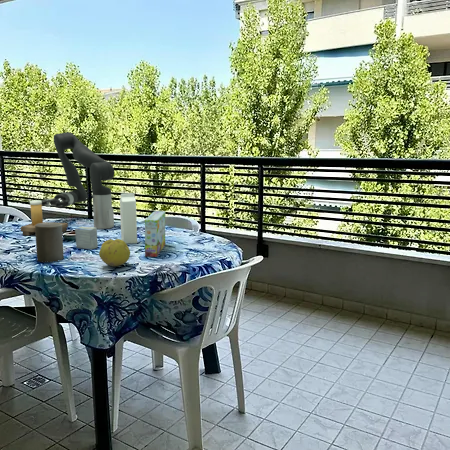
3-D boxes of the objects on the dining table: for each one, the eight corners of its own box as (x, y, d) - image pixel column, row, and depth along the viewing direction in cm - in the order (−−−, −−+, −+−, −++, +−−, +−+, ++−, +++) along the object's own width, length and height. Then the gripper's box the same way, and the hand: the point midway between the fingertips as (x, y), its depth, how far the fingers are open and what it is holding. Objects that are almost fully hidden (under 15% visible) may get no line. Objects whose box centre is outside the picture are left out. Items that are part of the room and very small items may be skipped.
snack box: (158, 257, 179) (157, 219, 176) (144, 257, 179) (143, 219, 176) (166, 244, 200) (165, 210, 197) (153, 244, 200) (152, 210, 197)
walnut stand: (68, 231, 225) (67, 223, 224) (54, 236, 212) (54, 228, 211) (36, 229, 227) (35, 221, 226) (21, 235, 214) (20, 227, 214)
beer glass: (45, 223, 222) (43, 200, 220) (39, 225, 217) (37, 202, 215) (35, 223, 223) (33, 200, 220) (29, 225, 218) (27, 201, 215)
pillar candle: (37, 263, 169) (34, 224, 166) (36, 257, 178) (34, 219, 175) (64, 261, 173) (63, 222, 170) (62, 254, 182) (61, 218, 179)
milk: (137, 242, 202) (136, 193, 198) (123, 244, 200) (122, 194, 195) (134, 239, 208) (133, 192, 203) (121, 241, 205) (119, 192, 201)
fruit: (92, 268, 163) (91, 241, 161) (111, 260, 174) (110, 235, 172) (118, 272, 159) (117, 244, 157) (136, 263, 170) (136, 237, 168)
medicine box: (98, 247, 194) (97, 227, 192) (91, 249, 190) (90, 229, 188) (82, 245, 196) (81, 226, 194) (76, 248, 192) (74, 228, 190)
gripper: (50, 192, 245) (34, 197, 229) (75, 193, 243) (61, 197, 227) (51, 206, 246) (35, 211, 231) (76, 207, 244) (61, 212, 229)
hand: (48, 204), depth 229 cm, fingers open, 8 cm apart
